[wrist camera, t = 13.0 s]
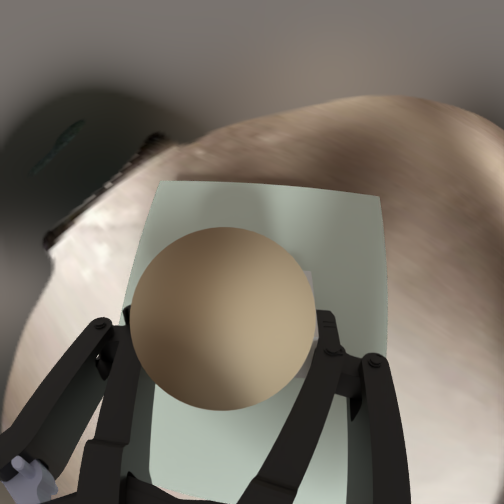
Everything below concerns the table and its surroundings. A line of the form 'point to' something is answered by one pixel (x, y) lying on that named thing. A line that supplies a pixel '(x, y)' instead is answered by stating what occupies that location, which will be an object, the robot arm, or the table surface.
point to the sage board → (326, 298)
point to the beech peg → (222, 318)
